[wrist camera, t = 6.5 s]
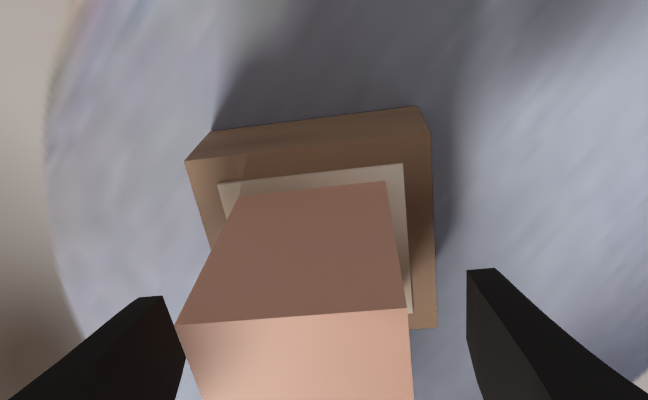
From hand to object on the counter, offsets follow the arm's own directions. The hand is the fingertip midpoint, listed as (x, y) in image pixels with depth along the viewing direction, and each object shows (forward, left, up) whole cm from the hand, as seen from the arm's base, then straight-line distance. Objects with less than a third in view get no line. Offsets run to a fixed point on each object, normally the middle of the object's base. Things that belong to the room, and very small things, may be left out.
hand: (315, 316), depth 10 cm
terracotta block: (0, 0, -3) cm, 3 cm away
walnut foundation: (0, 0, -5) cm, 5 cm away
